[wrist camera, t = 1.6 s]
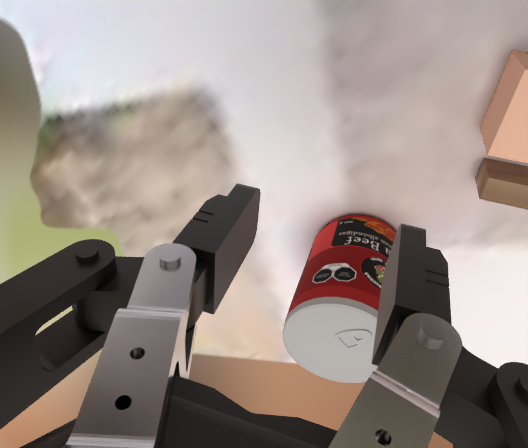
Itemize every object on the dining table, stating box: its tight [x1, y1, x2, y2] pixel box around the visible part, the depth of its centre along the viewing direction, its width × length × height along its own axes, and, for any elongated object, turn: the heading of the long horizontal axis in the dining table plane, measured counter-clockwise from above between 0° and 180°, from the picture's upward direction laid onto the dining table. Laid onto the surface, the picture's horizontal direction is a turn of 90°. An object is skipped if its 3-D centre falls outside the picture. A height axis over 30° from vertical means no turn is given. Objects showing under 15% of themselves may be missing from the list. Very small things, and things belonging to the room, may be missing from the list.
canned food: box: [283, 215, 397, 383], centre depth 33 cm, size 8×8×11 cm
